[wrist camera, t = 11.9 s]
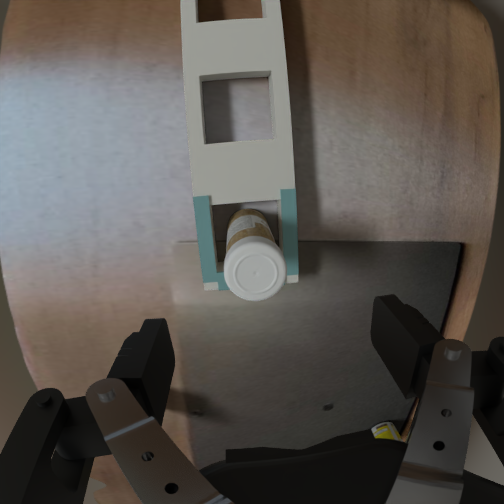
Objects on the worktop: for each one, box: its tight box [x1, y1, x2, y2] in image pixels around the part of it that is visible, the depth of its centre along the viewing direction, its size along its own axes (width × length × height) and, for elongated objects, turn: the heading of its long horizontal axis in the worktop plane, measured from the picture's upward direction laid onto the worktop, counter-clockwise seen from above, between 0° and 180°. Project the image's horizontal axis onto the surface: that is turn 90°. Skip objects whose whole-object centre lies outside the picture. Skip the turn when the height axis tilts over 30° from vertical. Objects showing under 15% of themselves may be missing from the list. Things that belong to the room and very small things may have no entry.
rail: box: [181, 0, 299, 290], centre depth 30 cm, size 10×37×3 cm, turn 4°
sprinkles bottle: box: [224, 209, 287, 301], centre depth 29 cm, size 5×5×13 cm
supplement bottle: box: [371, 422, 403, 442], centre depth 44 cm, size 6×6×10 cm
